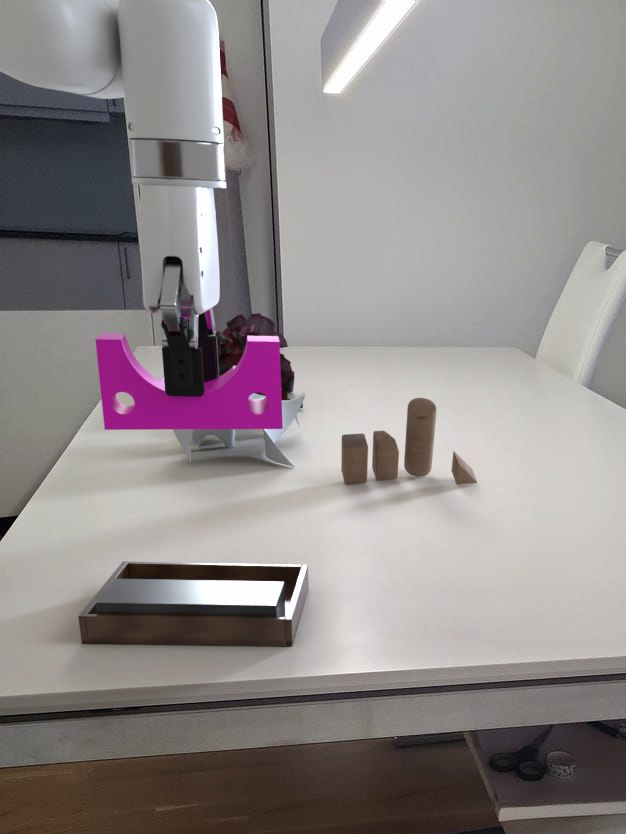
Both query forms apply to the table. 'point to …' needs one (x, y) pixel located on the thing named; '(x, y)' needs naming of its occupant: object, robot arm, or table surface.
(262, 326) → the flower arrangement
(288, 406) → the sculpture
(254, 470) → the table surface
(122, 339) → the toy block
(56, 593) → the table surface
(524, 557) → the table surface
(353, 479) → the wooden block set
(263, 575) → the wooden tray
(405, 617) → the table surface
